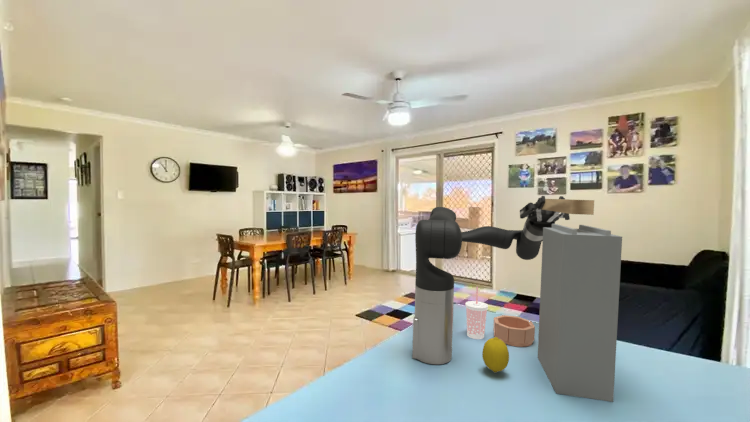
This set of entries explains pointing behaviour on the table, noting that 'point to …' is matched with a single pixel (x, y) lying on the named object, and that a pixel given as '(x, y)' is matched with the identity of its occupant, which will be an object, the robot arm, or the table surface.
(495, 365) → the lemon
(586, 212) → the slat
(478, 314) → the beverage cup
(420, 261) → the robot arm
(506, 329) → the bowl
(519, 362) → the table surface
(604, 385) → the shelf block
